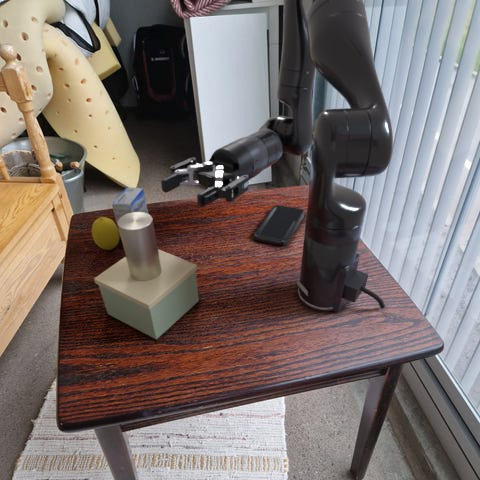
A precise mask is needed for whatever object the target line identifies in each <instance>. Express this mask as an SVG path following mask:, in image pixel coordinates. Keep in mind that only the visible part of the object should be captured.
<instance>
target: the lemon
mask: <svg viewBox="0 0 480 480" xmlns="http://www.w3.org/2000/svg"><path fill="white" fill-rule="evenodd" d="M91 236H92V239H93V241H94V243H95V245H97V247H98V248H101V249H103V250H108V251H112V250H113V249H114V248H116V247H117V246H118V245H119V242H120V240H121V237H120V233H119V230H118V226H117V223H115V222H114V221H113V220H112V219H111V218H110V217H109V218H108V217H104V216H100V217H99V218H96V219H95V220H94V222H93V224H92V226H91Z"/></svg>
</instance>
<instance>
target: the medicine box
mask: <svg viewBox="0 0 480 480" xmlns="http://www.w3.org/2000/svg"><path fill="white" fill-rule="evenodd" d="M111 206H112V210H113V214H114V218H115V222H116V226H117V228H118V230H119V227H118V220H119V219H120V218H121V217H122V216H124V215H126V214H128V213H133V212H144V213H147V214H149V209H148V205H147V199H146V194H145V190H144V188H142V187H133V186H132V187H131V186H130V187H126V188H125V189H124V190H123V191H122V192H121V193H120V194H119V195H118V197H116V199H115V200H114V201H113V202H112V203H111ZM119 235H120V231H119ZM120 238H121V235H120Z"/></svg>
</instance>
